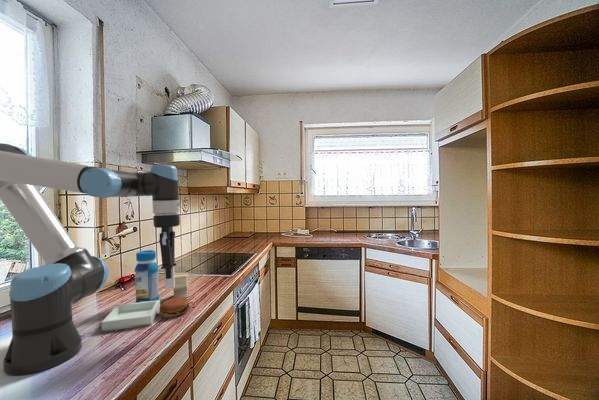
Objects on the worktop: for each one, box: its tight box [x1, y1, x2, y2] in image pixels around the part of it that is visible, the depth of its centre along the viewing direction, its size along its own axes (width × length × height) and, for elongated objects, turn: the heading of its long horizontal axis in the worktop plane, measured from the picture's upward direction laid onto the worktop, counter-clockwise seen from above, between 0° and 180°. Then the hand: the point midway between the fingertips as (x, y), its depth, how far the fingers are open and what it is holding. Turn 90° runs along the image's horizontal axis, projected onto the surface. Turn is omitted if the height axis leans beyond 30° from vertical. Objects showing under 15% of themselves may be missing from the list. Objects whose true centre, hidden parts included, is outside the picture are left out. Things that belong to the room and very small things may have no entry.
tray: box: [101, 299, 161, 333], centre depth 95 cm, size 14×14×3 cm
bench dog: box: [173, 271, 189, 299], centre depth 115 cm, size 5×5×9 cm
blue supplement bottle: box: [134, 249, 160, 303], centre depth 109 cm, size 8×8×20 cm
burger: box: [158, 297, 191, 319], centre depth 99 cm, size 10×9×5 cm
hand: (169, 287), depth 89 cm, fingers closed
